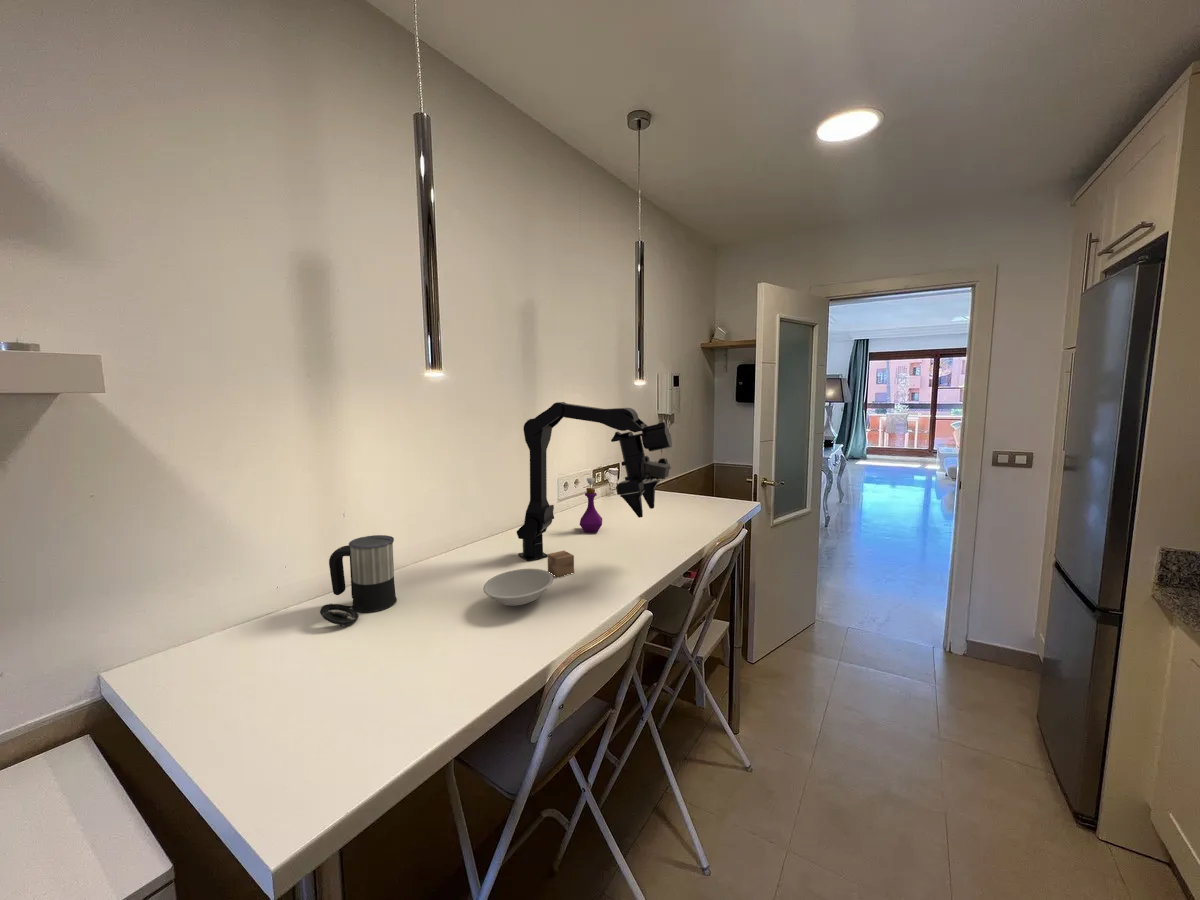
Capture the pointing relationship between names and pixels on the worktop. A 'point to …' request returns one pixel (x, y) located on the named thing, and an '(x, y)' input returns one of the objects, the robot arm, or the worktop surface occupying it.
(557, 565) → the walnut block
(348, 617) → the milk frother
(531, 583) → the dish
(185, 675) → the worktop surface
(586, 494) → the perfume bottle
